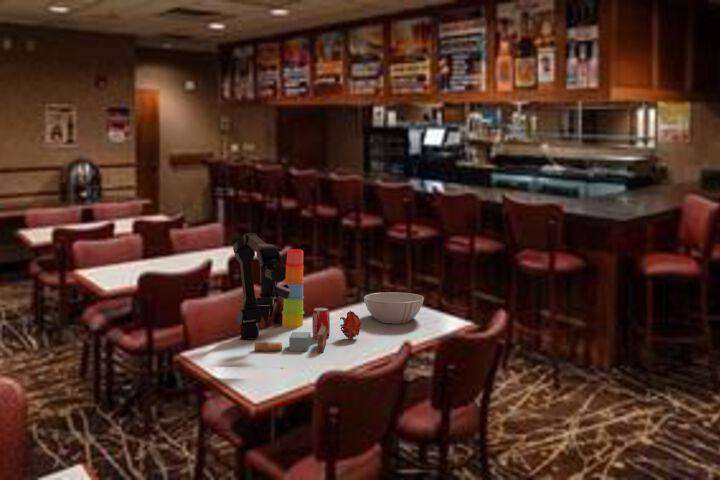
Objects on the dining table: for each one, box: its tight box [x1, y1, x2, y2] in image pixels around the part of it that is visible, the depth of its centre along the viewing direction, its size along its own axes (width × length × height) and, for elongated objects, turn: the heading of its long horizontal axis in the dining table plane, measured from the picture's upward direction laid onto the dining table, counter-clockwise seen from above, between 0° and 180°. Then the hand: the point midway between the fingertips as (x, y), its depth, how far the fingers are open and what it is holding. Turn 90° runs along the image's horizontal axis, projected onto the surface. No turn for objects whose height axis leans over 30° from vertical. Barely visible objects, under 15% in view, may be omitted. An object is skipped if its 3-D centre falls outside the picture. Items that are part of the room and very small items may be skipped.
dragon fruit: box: [339, 309, 362, 340], centre depth 275 cm, size 8×8×12 cm
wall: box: [317, 326, 327, 354], centre depth 261 cm, size 2×14×7 cm, turn 178°
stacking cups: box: [281, 248, 305, 329], centre depth 293 cm, size 10×10×35 cm
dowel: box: [253, 341, 283, 353], centre depth 257 cm, size 10×4×4 cm, turn 88°
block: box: [288, 331, 311, 352], centre depth 261 cm, size 7×9×5 cm
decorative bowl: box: [363, 291, 425, 325], centre depth 304 cm, size 27×27×12 cm
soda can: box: [311, 307, 331, 340], centre depth 278 cm, size 7×7×12 cm
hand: (268, 319), depth 257 cm, fingers open, 9 cm apart
